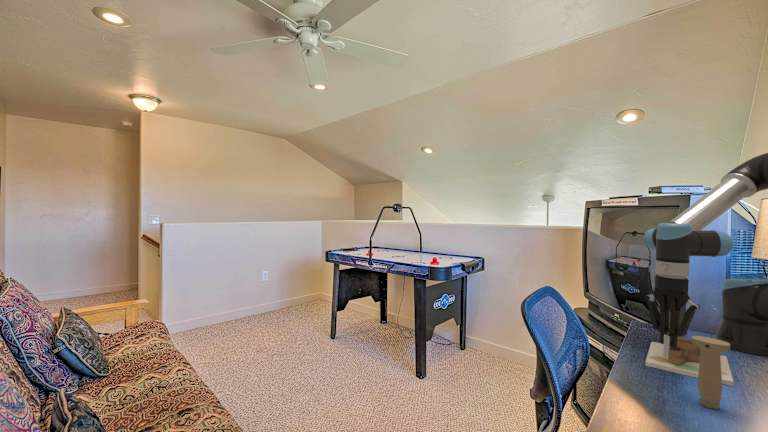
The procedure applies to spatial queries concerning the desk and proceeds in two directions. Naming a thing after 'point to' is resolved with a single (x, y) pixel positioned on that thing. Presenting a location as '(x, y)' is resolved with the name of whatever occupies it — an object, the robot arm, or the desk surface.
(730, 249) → the robot arm
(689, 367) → the board
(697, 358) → the brown frying pan
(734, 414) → the desk surface
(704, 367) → the handle
